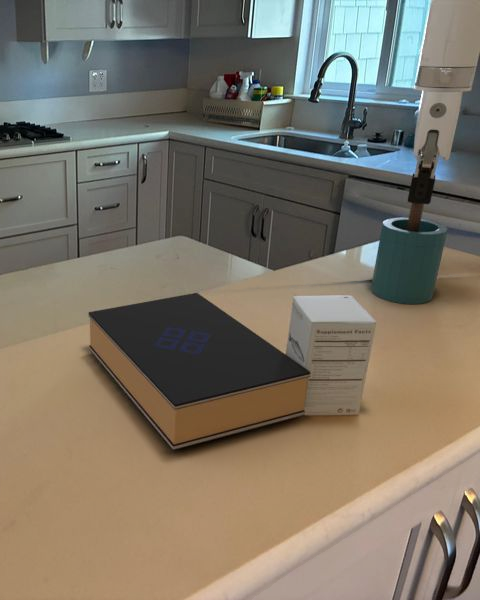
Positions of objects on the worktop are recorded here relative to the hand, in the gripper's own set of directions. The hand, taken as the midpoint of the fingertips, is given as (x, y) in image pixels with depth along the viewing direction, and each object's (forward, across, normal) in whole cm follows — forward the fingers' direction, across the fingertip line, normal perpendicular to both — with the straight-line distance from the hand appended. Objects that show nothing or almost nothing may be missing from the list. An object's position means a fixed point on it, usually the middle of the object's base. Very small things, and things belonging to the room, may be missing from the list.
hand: (418, 200), depth 99 cm
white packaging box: (+17, -40, +7) cm, 44 cm away
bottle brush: (+11, 0, 0) cm, 11 cm away
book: (+17, -44, +23) cm, 52 cm away
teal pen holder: (+16, 0, 0) cm, 16 cm away
